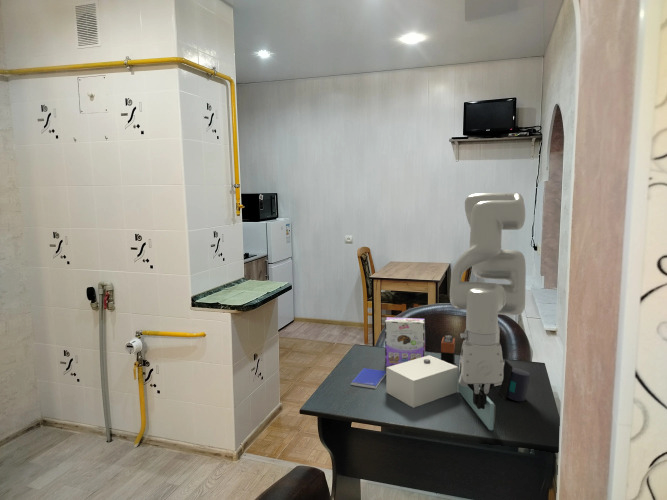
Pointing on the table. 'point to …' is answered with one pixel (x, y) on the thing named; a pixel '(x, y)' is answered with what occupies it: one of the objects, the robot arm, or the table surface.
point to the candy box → (404, 340)
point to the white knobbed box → (421, 380)
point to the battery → (448, 349)
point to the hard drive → (369, 378)
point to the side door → (484, 414)
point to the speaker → (514, 383)
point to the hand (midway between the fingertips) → (479, 406)
